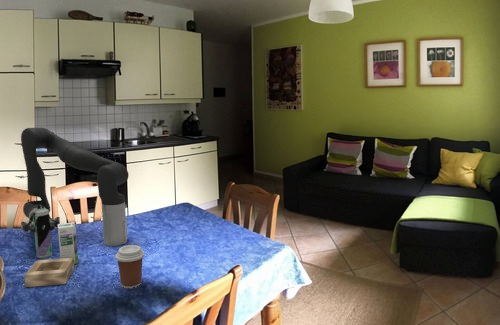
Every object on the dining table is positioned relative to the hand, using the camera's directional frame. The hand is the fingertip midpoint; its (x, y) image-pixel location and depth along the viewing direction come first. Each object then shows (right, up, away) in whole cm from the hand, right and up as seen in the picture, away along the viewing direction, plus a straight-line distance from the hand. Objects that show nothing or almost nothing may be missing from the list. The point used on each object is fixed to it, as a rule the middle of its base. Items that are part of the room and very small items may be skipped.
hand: (42, 229), depth 147 cm
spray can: (-1, -11, +4) cm, 11 cm away
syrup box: (+11, -12, -3) cm, 16 cm away
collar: (+11, -14, -15) cm, 23 cm away
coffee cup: (+39, -15, -19) cm, 46 cm away
